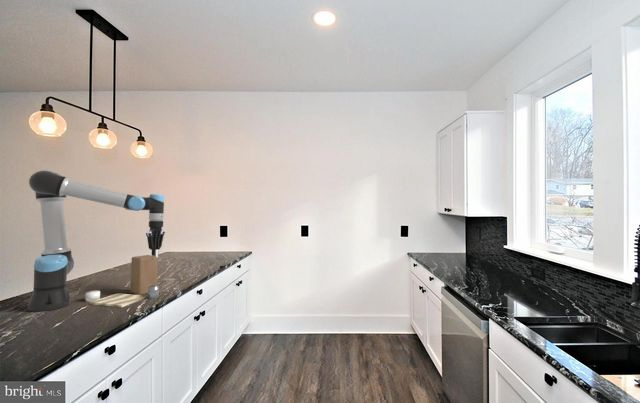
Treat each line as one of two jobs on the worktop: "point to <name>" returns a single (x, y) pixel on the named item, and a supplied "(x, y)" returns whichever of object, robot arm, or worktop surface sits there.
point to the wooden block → (143, 273)
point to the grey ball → (153, 291)
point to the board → (118, 300)
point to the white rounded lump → (92, 296)
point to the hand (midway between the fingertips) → (154, 260)
